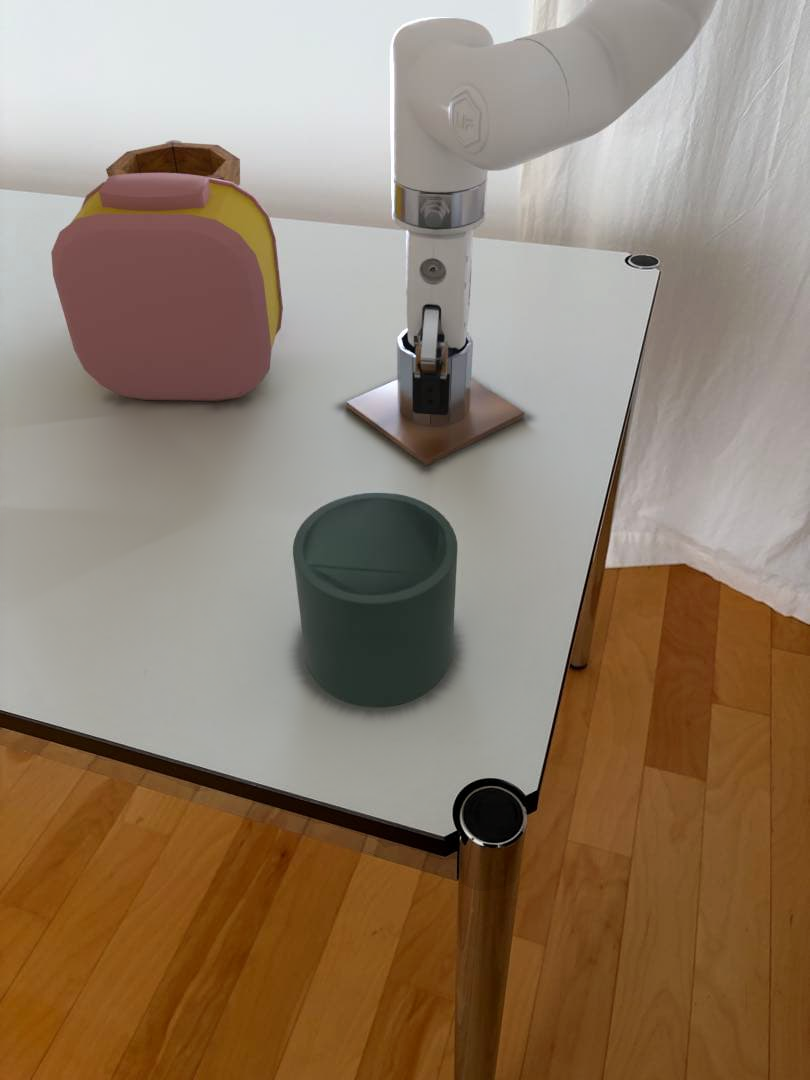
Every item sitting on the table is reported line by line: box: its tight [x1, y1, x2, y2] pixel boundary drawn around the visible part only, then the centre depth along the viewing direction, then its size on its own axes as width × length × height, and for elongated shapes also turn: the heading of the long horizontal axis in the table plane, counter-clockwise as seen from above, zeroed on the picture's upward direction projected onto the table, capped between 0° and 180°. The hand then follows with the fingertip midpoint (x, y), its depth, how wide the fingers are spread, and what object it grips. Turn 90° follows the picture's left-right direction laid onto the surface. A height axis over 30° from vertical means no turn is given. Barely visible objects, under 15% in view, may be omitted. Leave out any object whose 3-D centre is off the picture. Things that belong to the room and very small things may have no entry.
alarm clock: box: [50, 173, 284, 402], centre depth 83 cm, size 18×11×19 cm, turn 88°
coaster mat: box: [345, 378, 525, 467], centre depth 85 cm, size 12×12×1 cm
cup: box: [396, 328, 474, 427], centre depth 82 cm, size 7×7×7 cm
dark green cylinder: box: [292, 491, 458, 708], centre depth 60 cm, size 10×10×10 cm
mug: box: [105, 139, 241, 187], centre depth 99 cm, size 20×14×15 cm
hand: (434, 387), depth 83 cm, fingers open, 7 cm apart
